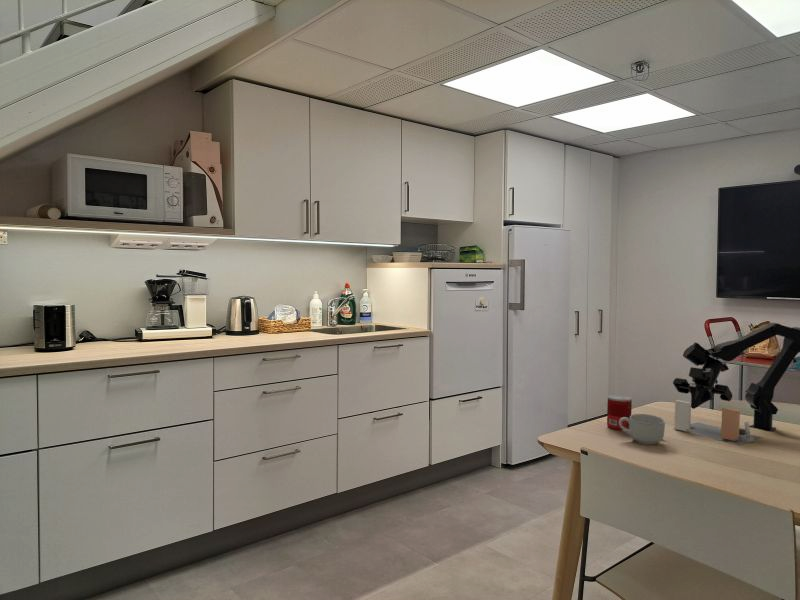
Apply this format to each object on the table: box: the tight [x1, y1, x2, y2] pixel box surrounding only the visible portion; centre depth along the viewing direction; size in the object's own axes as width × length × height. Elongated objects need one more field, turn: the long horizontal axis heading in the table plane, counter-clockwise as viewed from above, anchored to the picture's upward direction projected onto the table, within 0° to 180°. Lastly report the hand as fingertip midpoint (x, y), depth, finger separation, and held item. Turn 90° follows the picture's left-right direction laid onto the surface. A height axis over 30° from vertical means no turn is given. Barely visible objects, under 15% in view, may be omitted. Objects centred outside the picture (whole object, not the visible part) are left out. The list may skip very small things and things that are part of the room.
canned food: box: [606, 394, 633, 431], centre depth 201 cm, size 8×8×11 cm
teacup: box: [619, 413, 666, 446], centre depth 185 cm, size 14×11×8 cm
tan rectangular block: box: [720, 407, 741, 441], centre depth 185 cm, size 3×5×10 cm, turn 34°
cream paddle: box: [673, 399, 692, 432], centre depth 195 cm, size 3×5×10 cm, turn 34°
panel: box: [672, 421, 764, 446], centre depth 192 cm, size 16×22×7 cm
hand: (692, 407), depth 198 cm, fingers closed
